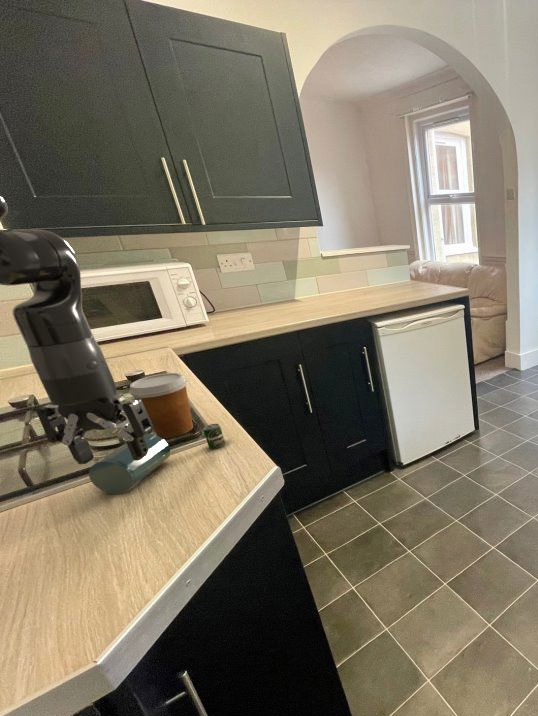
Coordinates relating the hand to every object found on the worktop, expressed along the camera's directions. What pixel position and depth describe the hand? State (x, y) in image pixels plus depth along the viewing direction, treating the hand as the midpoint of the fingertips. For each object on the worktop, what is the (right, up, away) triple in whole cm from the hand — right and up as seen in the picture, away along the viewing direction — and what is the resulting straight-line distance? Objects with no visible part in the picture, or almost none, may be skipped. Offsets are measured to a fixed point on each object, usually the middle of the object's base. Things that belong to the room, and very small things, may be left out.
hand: (114, 459), depth 70 cm
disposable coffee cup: (-7, +2, +21) cm, 22 cm away
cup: (0, -3, -1) cm, 3 cm away
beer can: (+7, 0, +15) cm, 16 cm away
